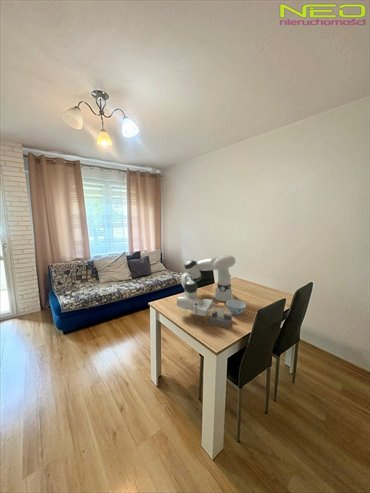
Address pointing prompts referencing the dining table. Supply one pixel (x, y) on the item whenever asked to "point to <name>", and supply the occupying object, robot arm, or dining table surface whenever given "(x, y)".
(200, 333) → the dining table surface
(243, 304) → the chinaware
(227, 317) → the duct block
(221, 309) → the plug post
